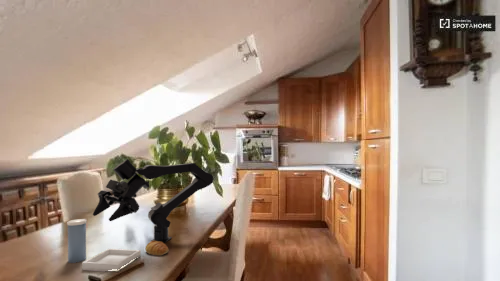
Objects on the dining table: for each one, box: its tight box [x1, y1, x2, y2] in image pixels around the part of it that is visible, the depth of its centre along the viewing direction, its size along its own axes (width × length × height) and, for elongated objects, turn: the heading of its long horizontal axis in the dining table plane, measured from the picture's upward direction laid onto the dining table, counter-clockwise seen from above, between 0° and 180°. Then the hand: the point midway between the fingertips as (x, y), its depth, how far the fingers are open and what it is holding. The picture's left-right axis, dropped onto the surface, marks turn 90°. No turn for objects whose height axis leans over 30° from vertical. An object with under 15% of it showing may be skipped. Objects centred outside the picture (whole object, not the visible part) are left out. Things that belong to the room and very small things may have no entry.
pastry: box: [144, 240, 169, 256], centre depth 109 cm, size 9×7×4 cm
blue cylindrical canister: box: [66, 218, 87, 264], centre depth 103 cm, size 6×6×14 cm
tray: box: [81, 248, 142, 272], centre depth 99 cm, size 13×13×2 cm
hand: (101, 217), depth 106 cm, fingers open, 9 cm apart
